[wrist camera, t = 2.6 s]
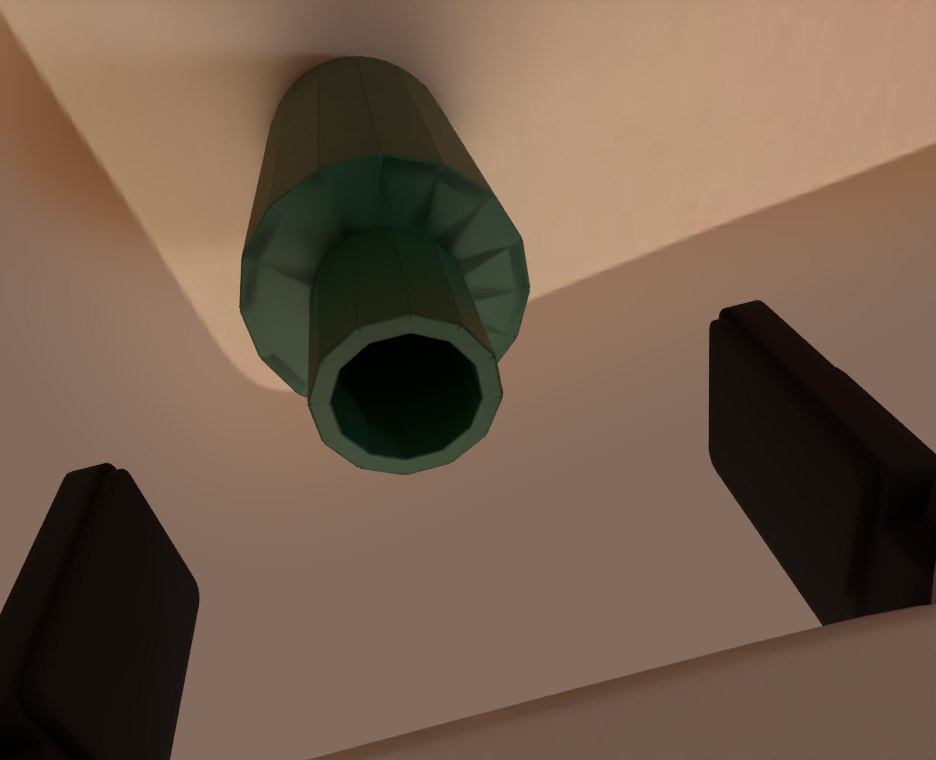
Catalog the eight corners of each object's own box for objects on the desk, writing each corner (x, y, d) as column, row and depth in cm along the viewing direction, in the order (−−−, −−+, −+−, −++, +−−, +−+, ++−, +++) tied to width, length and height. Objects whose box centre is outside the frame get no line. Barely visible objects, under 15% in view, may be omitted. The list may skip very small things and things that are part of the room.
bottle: (303, 252, 28) (290, 565, 14) (243, 80, 24) (152, 287, 11) (463, 213, 28) (595, 483, 15) (428, 36, 24) (561, 185, 11)
